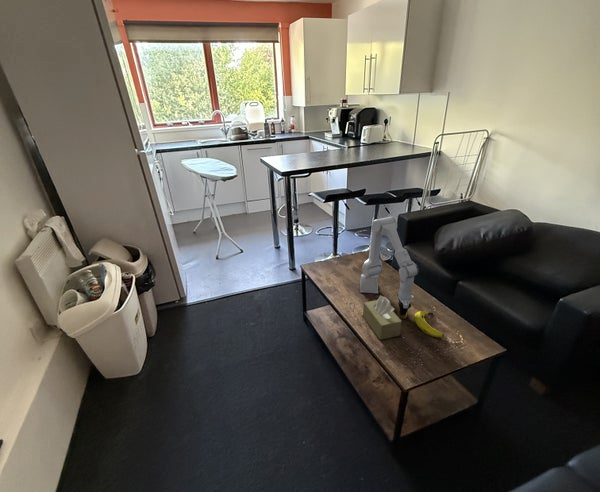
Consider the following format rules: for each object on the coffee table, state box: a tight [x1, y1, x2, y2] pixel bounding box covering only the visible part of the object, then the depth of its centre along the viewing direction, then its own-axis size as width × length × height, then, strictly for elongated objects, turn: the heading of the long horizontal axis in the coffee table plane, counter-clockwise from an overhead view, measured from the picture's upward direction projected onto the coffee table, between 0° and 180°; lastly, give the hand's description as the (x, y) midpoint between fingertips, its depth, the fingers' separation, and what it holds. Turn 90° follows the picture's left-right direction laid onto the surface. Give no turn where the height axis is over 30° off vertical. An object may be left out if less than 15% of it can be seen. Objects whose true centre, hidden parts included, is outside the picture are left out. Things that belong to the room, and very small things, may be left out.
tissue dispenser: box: [362, 295, 403, 340], centre depth 144 cm, size 19×10×16 cm, turn 15°
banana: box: [413, 310, 445, 339], centre depth 146 cm, size 5×17×15 cm
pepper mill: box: [396, 300, 408, 320], centre depth 152 cm, size 5×5×9 cm
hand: (402, 311), depth 153 cm, fingers closed on pepper mill, 4 cm apart
